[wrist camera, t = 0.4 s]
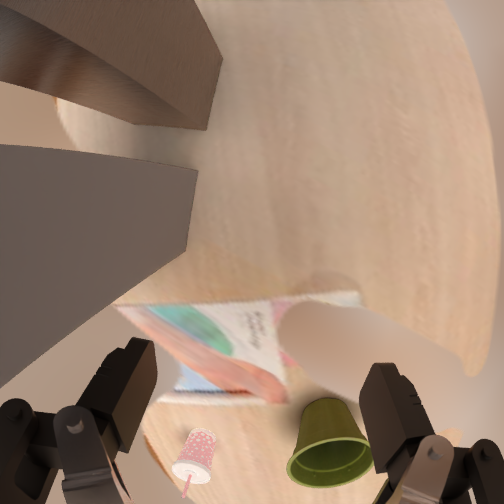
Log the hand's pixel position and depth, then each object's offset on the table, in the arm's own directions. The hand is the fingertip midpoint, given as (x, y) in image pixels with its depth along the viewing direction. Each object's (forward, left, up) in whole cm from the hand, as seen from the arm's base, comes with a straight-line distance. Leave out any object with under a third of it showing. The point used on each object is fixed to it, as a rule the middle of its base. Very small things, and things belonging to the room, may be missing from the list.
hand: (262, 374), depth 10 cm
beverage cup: (+35, -5, -26) cm, 44 cm away
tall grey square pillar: (-2, -16, -26) cm, 31 cm away
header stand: (-17, -16, -26) cm, 35 cm away
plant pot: (+24, +13, -26) cm, 38 cm away
